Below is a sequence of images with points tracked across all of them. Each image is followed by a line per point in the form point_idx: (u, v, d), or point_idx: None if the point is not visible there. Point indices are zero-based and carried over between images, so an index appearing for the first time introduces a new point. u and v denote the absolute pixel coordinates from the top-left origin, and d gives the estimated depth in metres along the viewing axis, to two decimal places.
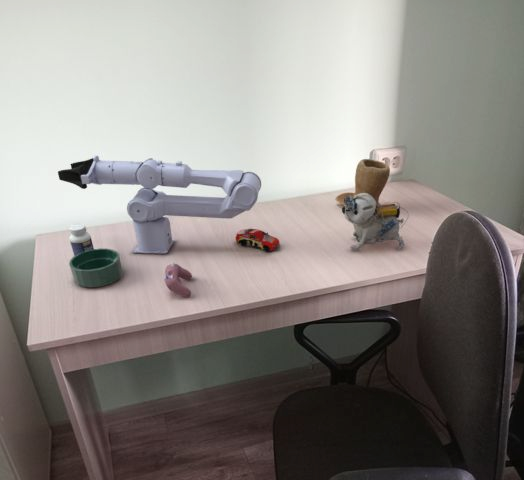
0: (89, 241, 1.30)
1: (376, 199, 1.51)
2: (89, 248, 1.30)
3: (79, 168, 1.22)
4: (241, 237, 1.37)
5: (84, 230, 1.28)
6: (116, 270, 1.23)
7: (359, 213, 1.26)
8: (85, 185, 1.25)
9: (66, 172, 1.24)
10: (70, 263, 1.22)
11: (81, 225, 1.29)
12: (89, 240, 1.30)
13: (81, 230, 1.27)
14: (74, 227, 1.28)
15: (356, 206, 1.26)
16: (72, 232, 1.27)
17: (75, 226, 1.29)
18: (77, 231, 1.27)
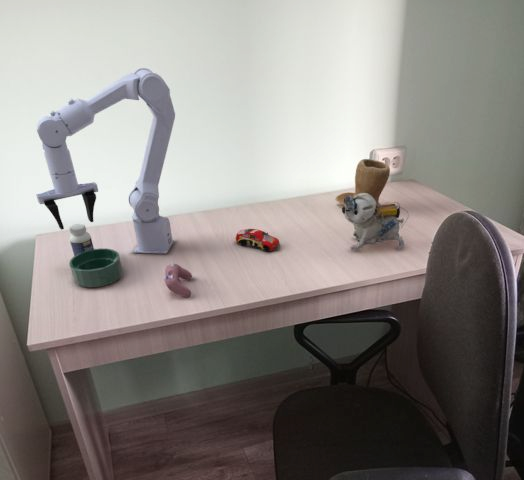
0: (89, 241, 1.30)
1: (376, 199, 1.51)
2: (89, 248, 1.30)
3: None
4: (241, 237, 1.37)
5: (84, 230, 1.28)
6: (116, 270, 1.23)
7: (359, 213, 1.26)
8: (52, 205, 1.20)
9: (55, 218, 1.25)
10: (70, 263, 1.22)
11: (81, 225, 1.29)
12: (89, 240, 1.30)
13: (81, 230, 1.27)
14: (74, 227, 1.28)
15: (356, 206, 1.26)
16: (72, 232, 1.27)
17: (75, 226, 1.29)
18: (77, 231, 1.27)
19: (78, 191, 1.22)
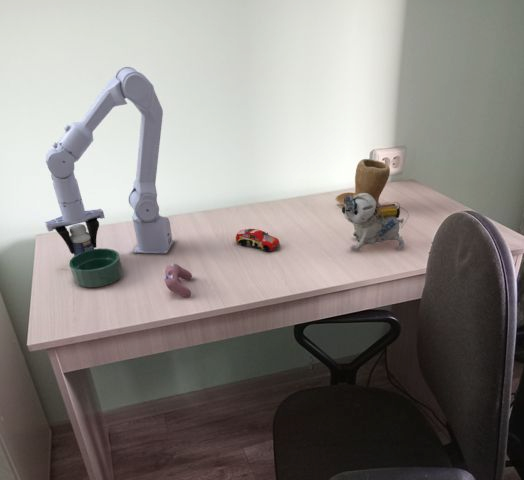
0: (89, 241, 1.30)
1: (376, 199, 1.51)
2: (89, 248, 1.30)
3: None
4: (241, 237, 1.37)
5: (84, 230, 1.28)
6: (116, 270, 1.23)
7: (359, 213, 1.26)
8: (63, 231, 1.25)
9: (66, 243, 1.30)
10: (70, 263, 1.22)
11: (81, 225, 1.29)
12: (89, 240, 1.30)
13: (81, 230, 1.27)
14: (74, 227, 1.28)
15: (356, 206, 1.26)
16: (72, 232, 1.27)
17: (75, 226, 1.29)
18: (77, 231, 1.27)
19: (85, 218, 1.26)
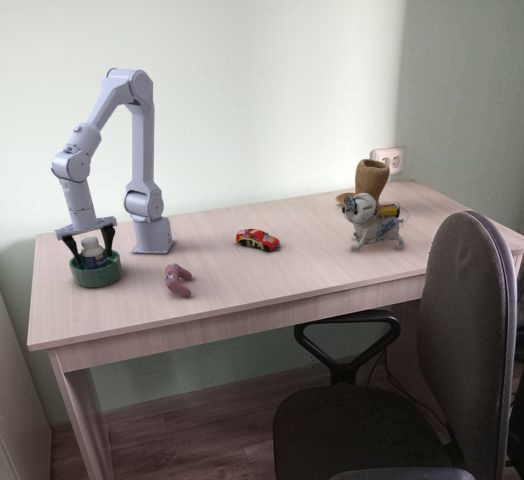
0: (102, 255, 1.22)
1: (376, 199, 1.51)
2: (102, 262, 1.23)
3: None
4: (241, 237, 1.37)
5: (97, 243, 1.20)
6: (116, 270, 1.23)
7: (359, 213, 1.26)
8: (70, 241, 1.16)
9: (73, 253, 1.21)
10: (70, 263, 1.22)
11: (93, 238, 1.21)
12: (102, 254, 1.22)
13: (93, 243, 1.20)
14: (86, 240, 1.20)
15: (356, 206, 1.26)
16: (84, 245, 1.19)
17: (87, 239, 1.21)
18: (89, 244, 1.19)
19: (97, 226, 1.17)
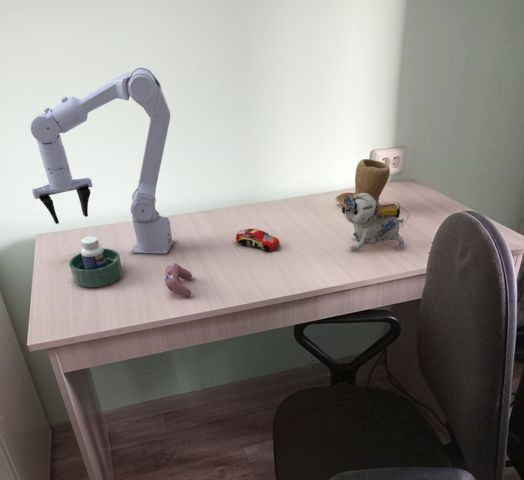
0: (102, 255, 1.22)
1: (376, 199, 1.51)
2: (102, 262, 1.23)
3: None
4: (241, 237, 1.37)
5: (97, 243, 1.20)
6: (116, 270, 1.23)
7: (359, 213, 1.26)
8: (47, 199, 1.23)
9: (51, 213, 1.28)
10: (70, 263, 1.22)
11: (93, 238, 1.21)
12: (102, 254, 1.22)
13: (93, 243, 1.20)
14: (86, 240, 1.20)
15: (356, 206, 1.26)
16: (84, 245, 1.19)
17: (87, 239, 1.21)
18: (89, 244, 1.19)
19: (72, 186, 1.25)
